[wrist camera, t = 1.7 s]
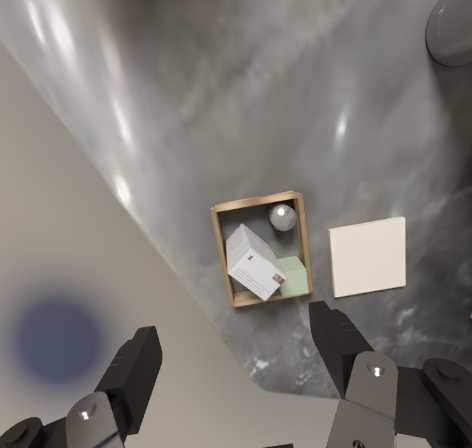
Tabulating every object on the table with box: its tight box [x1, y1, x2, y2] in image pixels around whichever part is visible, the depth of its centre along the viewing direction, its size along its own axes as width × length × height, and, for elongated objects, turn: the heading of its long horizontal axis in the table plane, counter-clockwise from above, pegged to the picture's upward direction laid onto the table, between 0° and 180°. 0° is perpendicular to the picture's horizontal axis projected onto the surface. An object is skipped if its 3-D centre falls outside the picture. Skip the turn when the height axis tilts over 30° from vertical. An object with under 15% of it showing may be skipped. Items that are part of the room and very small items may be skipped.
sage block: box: [277, 256, 309, 297], centre depth 38 cm, size 4×4×5 cm
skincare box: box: [226, 224, 288, 301], centre depth 33 cm, size 6×4×12 cm
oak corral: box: [211, 191, 313, 307], centre depth 38 cm, size 13×16×3 cm
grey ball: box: [267, 202, 297, 231], centre depth 36 cm, size 4×4×4 cm
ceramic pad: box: [328, 217, 405, 297], centre depth 40 cm, size 12×12×1 cm
